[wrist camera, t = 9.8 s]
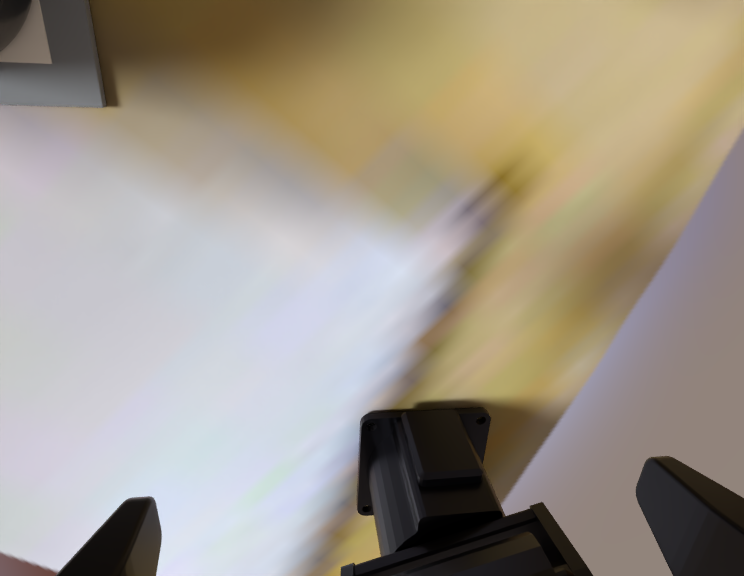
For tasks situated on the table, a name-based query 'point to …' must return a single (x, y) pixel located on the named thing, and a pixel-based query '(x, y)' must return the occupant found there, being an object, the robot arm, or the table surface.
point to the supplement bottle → (12, 19)
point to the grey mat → (53, 58)
